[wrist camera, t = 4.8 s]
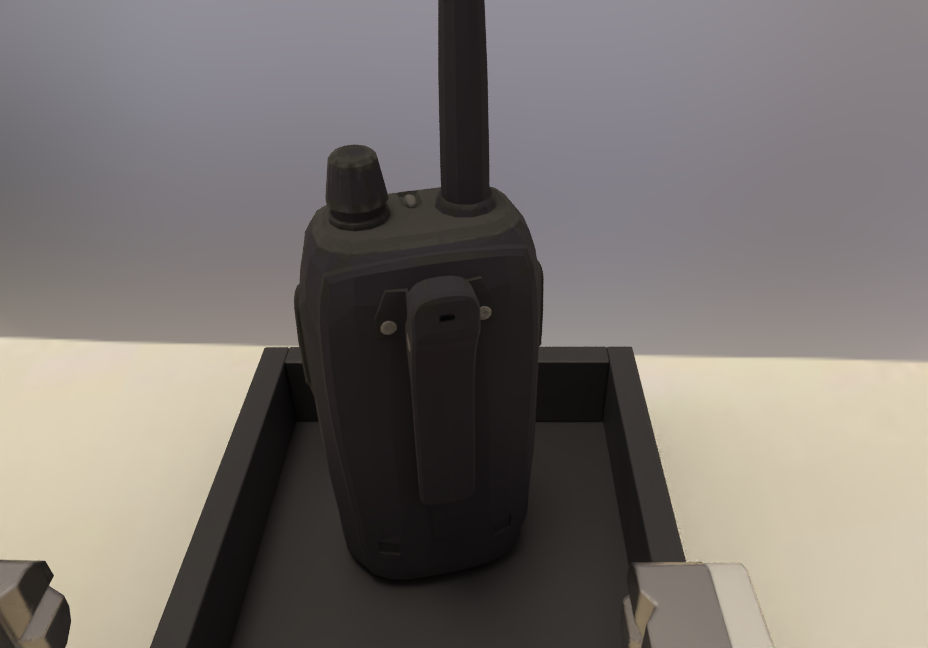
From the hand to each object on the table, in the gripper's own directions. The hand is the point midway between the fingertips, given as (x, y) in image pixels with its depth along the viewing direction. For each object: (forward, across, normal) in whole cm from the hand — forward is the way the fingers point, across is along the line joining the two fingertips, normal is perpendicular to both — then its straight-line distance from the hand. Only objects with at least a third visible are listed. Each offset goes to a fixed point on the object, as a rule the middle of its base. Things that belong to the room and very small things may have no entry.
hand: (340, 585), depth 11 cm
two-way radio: (+7, -1, +8) cm, 11 cm away
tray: (+7, -1, +8) cm, 11 cm away
